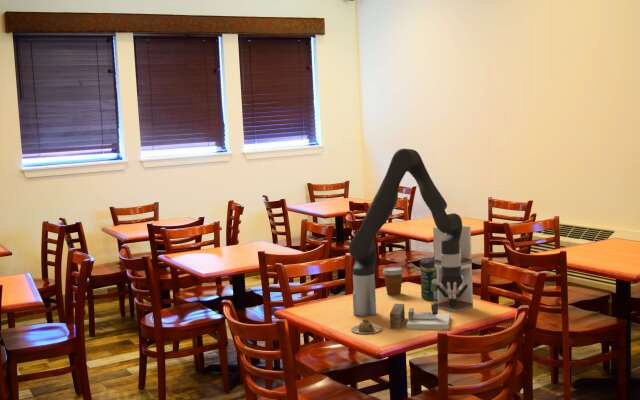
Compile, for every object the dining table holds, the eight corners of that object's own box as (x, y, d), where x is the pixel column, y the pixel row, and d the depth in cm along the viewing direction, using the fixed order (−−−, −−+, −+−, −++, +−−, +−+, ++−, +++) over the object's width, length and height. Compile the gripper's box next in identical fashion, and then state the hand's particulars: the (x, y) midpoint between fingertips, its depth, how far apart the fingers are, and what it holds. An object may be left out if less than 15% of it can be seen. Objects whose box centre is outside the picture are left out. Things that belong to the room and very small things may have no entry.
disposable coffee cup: (382, 296, 359) (381, 271, 358) (384, 291, 369) (383, 266, 367) (403, 296, 358) (402, 270, 356) (404, 291, 367) (403, 266, 366)
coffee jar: (418, 297, 354) (417, 257, 352) (434, 295, 356) (432, 255, 354) (428, 302, 345) (426, 261, 343) (444, 299, 347) (442, 259, 345)
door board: (406, 328, 304) (406, 315, 304) (410, 318, 320) (410, 305, 319) (448, 329, 301) (447, 315, 300) (450, 318, 316) (449, 305, 316)
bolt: (410, 318, 310) (410, 304, 309) (411, 316, 313) (411, 302, 312) (438, 319, 307) (437, 304, 307) (438, 316, 311) (438, 302, 310)
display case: (436, 307, 334) (433, 227, 330) (453, 303, 340) (450, 224, 336) (455, 312, 325) (453, 229, 321) (473, 307, 331) (470, 226, 327)
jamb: (390, 328, 306) (389, 313, 305) (395, 317, 321) (394, 303, 320) (401, 328, 305) (400, 314, 304) (405, 318, 320) (404, 303, 320)
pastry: (352, 327, 312) (351, 316, 311) (382, 326, 311) (381, 315, 310) (350, 336, 300) (349, 324, 300) (381, 335, 299) (381, 323, 298)
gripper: (433, 266, 303) (435, 310, 305) (468, 266, 301) (469, 309, 302) (434, 262, 311) (436, 305, 313) (468, 262, 308) (470, 305, 310)
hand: (452, 307), depth 307 cm, fingers closed
